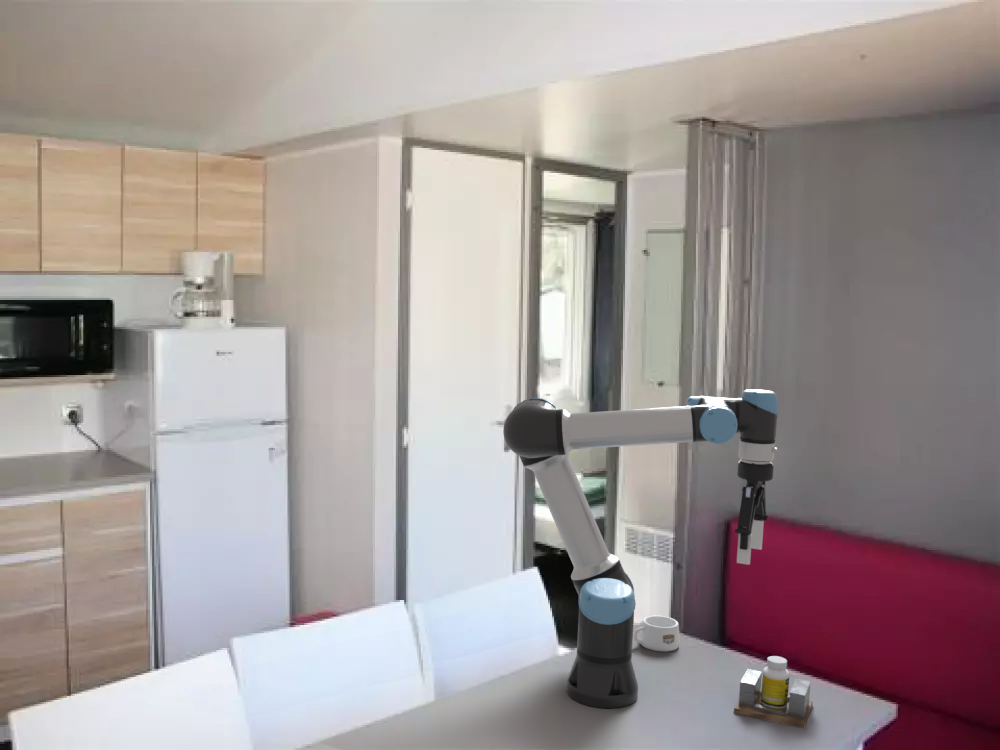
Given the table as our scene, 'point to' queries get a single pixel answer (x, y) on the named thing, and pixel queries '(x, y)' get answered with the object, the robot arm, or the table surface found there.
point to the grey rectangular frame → (749, 697)
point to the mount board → (772, 717)
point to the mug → (658, 633)
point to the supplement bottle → (775, 683)
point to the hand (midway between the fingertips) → (749, 555)
